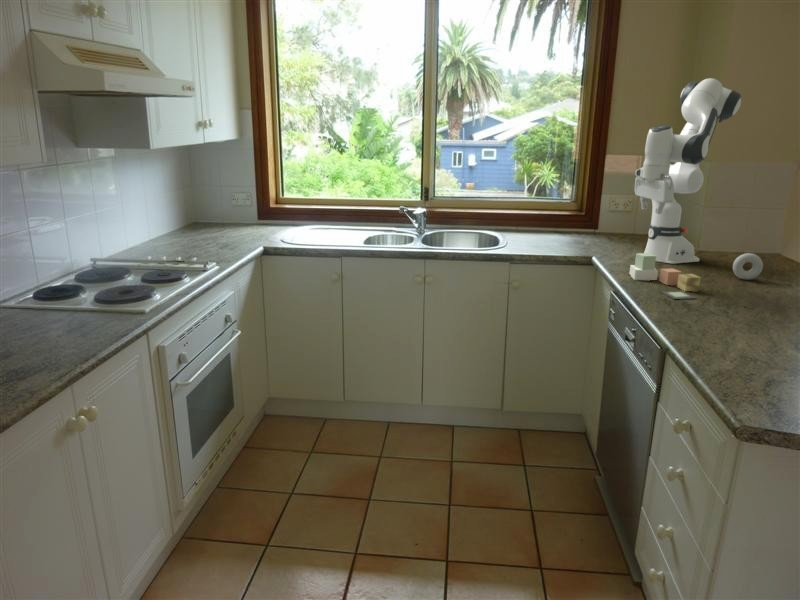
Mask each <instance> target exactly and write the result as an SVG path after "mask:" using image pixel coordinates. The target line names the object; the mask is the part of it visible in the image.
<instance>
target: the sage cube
mask: <svg viewBox="0 0 800 600" xmlns="http://www.w3.org/2000/svg"><path fill="white" fill-rule="evenodd" d="M656 262H657V261H656V256H655V255H652V254H650V253H644V252H643V253H642V252H638V253H636V254H635V260H634V265H635V267H637V268H639V269H642V270H647V269H654V268H656V267H655V266H656Z"/></svg>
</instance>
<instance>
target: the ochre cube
mask: <svg viewBox="0 0 800 600" xmlns="http://www.w3.org/2000/svg"><path fill="white" fill-rule="evenodd" d="M701 279H702V278H701V276H698V275H696V274H693V273H681V274H679V276H678V282H677V285H676V288H677V287H678V288H680V289H682V290H681V291H683V290H684V291H683V292H685V291H692V292H699V290H700V284H701ZM678 288H677V289H678ZM680 289H679V290H680Z"/></svg>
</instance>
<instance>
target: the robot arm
mask: <svg viewBox="0 0 800 600" xmlns="http://www.w3.org/2000/svg"><path fill="white" fill-rule="evenodd" d="M679 103H680V105H681V115H682V117H683V119H684V120H685V121H686V123H685V124H684V126H683V127H682V130H681V131H680V133H679V134H676V133H675V134H674V133H673V132H674V131H673V126H671V125H666V124H665V125H663V124H660V125H656V126H652V127H651V128H649V130H648V132H647V136H646V142H645V146H644V155H645V157H644V158H645V159H644V161H643V164H642V167H640V168H638V169H636V170H635V173H634V175H635V176H636V177H635V180H634V181H635V182H634V194H635V196H637V197H640V204H641V210H648V209H649V204H648V200H651V204H652V208H651V219H650V224H649V227H648V235H647V236H648V237H647V238H648V239H647V243H646V247H645V248H644V249H645V250H644V252H643V253H650V254H652V255H655V256H656V261H655V262H658V263H667V264H673V265H674V264H683V263H695V262H696V263H697V262H700V258H699V257H698V256H696V255H695V247H694V245H693V244H692V243H691V242H690V241H689V240H688V239H687V238H685V237H684V236H683V233H684V234H687V233H688V232H689V229H688V228H687V227H682V226H680V225H681V218H682V211H683V210H682V205H681V204H680V203H679V202H677V201H676V199H675V196H674V194H683V195H685V194H695V193H697V192H699V190H700V189H701V188H702V187H703V185H704V181H705V179H704V178H705V177H704V173H703V171H702V170H701V168H700V163H701V162H702V161H704V160H705V159H706V157H707V155H708V152H709V148H710V144H711V141H712V138H713V135H714V132H715V130H716V127H717V124H718V123H722V122H723V121H726V120H730V118H733V116H735V115H736V113H737V112H738V111H739V109H740V107H741V104H742V95H741V93H740V92H738V91H736V90H734V89H733V90H731V89H729V88H726V87H725V86H724V87H723V84H722V83H721V81H719V80H718V79H716V78H712V77H710V78H709V77H708V78H705V79H703V80H701V81H690V82H689V83H687V84H686V85H685V87H684V88H683V89H682V90H681V93H680V100H679ZM671 163H674V164H671Z"/></svg>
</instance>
